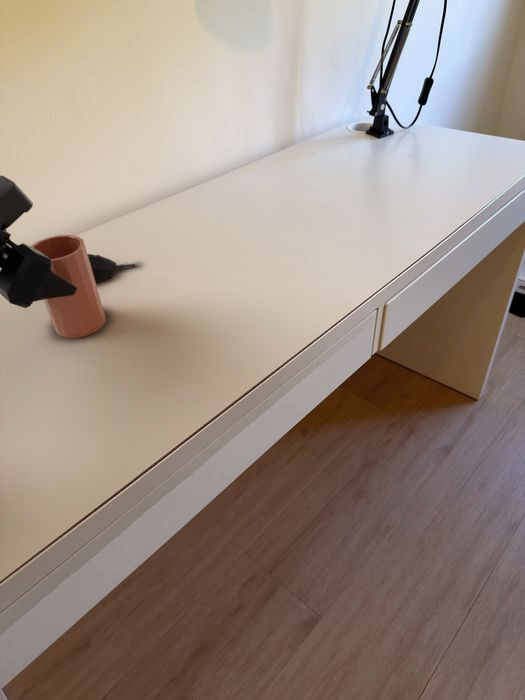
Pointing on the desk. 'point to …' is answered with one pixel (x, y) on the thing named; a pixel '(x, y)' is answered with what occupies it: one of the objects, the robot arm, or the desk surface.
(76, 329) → the pen cup
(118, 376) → the desk surface
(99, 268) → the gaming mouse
